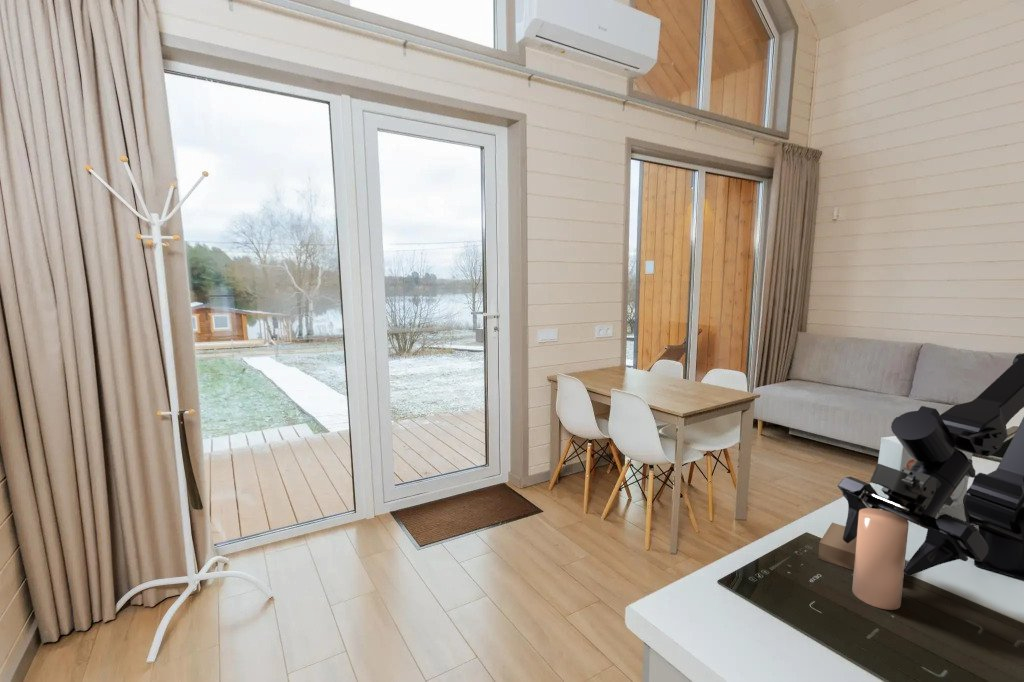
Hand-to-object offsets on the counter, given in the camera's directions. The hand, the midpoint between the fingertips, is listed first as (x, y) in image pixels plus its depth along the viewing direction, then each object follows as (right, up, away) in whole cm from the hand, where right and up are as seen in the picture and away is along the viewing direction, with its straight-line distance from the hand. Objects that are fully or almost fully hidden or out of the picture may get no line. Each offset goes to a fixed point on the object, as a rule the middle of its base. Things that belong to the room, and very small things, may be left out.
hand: (873, 556), depth 73 cm
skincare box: (+34, -3, +32) cm, 47 cm away
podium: (+6, -6, +12) cm, 14 cm away
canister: (+1, -7, +1) cm, 7 cm away
